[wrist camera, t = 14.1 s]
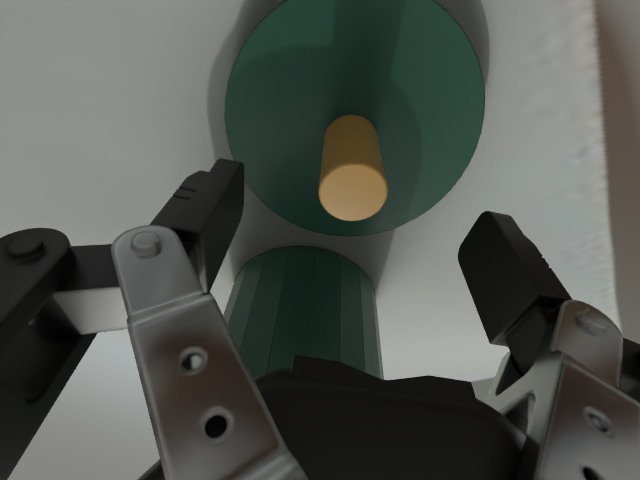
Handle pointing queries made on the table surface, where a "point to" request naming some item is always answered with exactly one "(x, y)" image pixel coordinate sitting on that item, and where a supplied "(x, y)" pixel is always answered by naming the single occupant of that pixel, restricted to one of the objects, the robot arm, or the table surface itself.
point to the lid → (354, 111)
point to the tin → (304, 311)
